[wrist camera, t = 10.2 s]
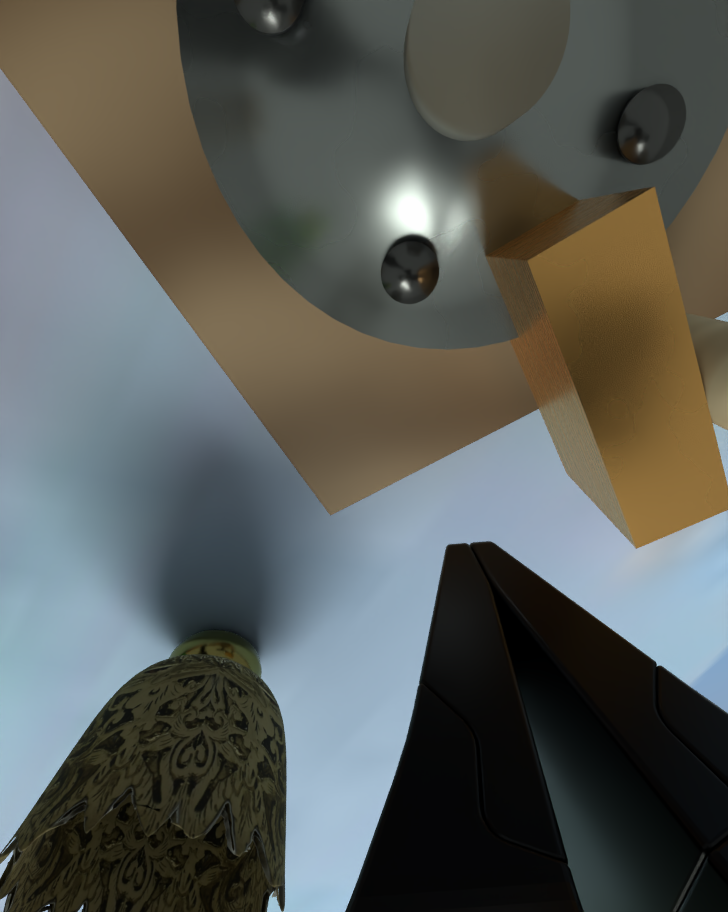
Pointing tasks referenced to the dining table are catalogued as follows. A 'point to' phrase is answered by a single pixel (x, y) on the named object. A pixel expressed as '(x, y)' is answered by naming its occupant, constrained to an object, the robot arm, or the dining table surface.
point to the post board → (250, 276)
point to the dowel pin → (712, 363)
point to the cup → (165, 796)
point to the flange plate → (491, 214)
